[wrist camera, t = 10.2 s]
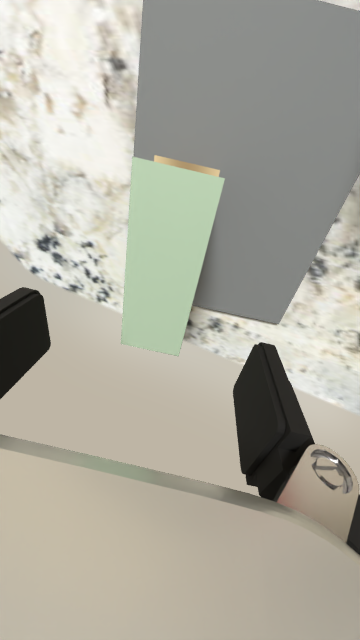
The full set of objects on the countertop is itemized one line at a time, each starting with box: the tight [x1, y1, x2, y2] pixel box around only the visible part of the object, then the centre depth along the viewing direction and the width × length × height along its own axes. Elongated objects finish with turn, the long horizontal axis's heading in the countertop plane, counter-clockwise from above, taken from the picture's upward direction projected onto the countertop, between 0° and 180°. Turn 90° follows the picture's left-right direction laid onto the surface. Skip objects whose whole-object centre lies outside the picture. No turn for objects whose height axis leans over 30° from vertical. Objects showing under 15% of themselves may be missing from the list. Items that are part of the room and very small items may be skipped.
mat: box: [134, 0, 360, 324], centre depth 24 cm, size 22×27×1 cm
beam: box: [121, 157, 225, 356], centre depth 18 cm, size 5×13×6 cm, turn 169°
